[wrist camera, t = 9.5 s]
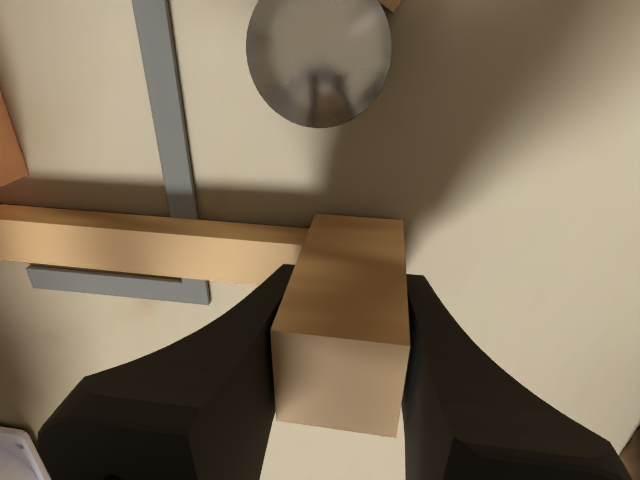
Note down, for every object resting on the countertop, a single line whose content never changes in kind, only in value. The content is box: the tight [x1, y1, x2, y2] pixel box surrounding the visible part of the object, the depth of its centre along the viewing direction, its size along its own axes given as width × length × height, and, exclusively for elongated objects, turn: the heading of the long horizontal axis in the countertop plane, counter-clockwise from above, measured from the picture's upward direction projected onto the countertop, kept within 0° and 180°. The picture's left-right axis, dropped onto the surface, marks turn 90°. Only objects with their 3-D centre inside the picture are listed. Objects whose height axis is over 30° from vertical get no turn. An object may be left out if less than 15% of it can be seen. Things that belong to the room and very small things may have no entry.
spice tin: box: [246, 0, 392, 128], centre depth 10 cm, size 3×3×4 cm
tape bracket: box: [26, 0, 210, 305], centre depth 14 cm, size 12×8×1 cm, turn 0°
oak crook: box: [0, 204, 410, 438], centre depth 12 cm, size 20×9×6 cm, turn 90°
